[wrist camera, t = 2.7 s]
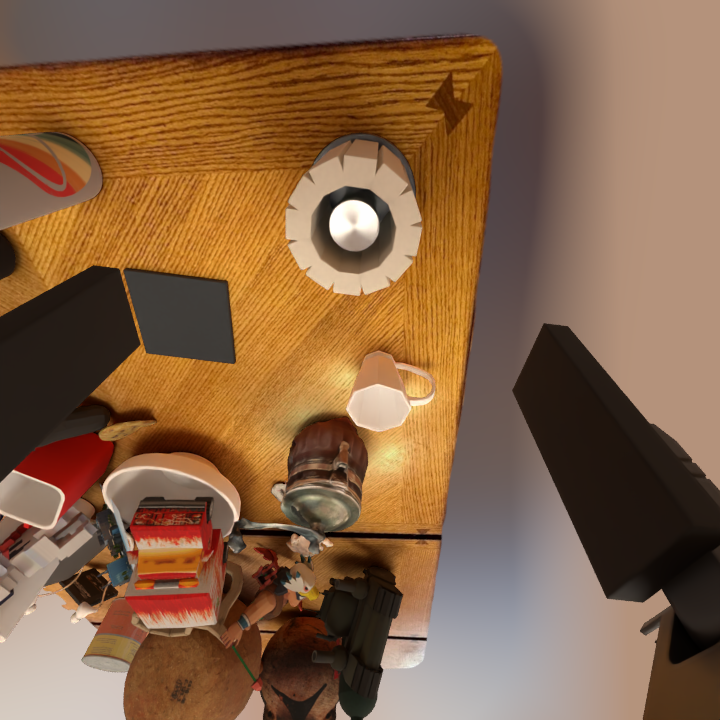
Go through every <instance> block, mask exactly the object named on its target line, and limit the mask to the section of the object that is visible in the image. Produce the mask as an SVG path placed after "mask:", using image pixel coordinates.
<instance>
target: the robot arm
mask: <svg viewBox="0 0 720 720" xmlns="http://www.w3.org/2000/svg"><path fill="white" fill-rule="evenodd" d="M140 345H141V344H140V341H139V337H138V334H137V330H136V327H135V323H134V320H133V316H132V313H131V309H130V305H129V302H128V298H127V295H126V291H125V288H124V284H123V281H122V277H121V274H120V270H119V269H118V268H110V267H102V266H94V265H93V266H92V267H90V268H88V269H86V270H84V271H83V272H81V273H79V274H77V275H75V276H73V277H72V278H70V279H68V280H66V281H64V282H63V283H61V284H59V285H57V286H55V287H53V288H52V289H50V290H48V291H46V292H44V293H43V294H41V295H39V296H37V297H35V298H34V299H32V300H30V301H28V302H26V303H24V304H23V305H21V306H19V307H17V308H15V309H14V310H12V311H10V312H8V313H6V314H4V315H3V316H1V317H0V483H1V482H2V481H3V480H4V479H5V478H6V477H7V476H8V475H9V474H10V473H11V472H12V471H13V470H14V469H15V468H16V467H17V466H18V465H19V464H20V463H21V462H22V461H23V460H24V459H25V458H26V457H27V456H28V455H29V454H30V453H31V452H32V451H33V450H34V449H35V448H36V447H37V446H38V445H39V444H40V443H41V442H42V441H43V440H44V439H45V438H46V437H47V436H48V435H49V434H50V433H51V432H52V431H53V430H54V429H55V428H56V427H57V426H58V425H59V424H60V423H62V422H63V421H64V420H65V419H66V418H67V417H68V416H69V415H70V414H71V413H72V412H73V411H74V410H75V409H76V408H77V407H78V406H79V405H80V404H81V403H82V402H83V401H84V400H85V399H86V398H87V397H88V396H89V395H90V394H91V393H92V392H93V391H94V390H95V389H96V388H97V387H98V386H99V385H100V384H101V383H102V382H103V381H104V380H105V379H106V378H107V377H108V376H109V375H110V374H111V373H112V372H113V371H114V370H115V369H116V368H117V367H118V366H119V365H120V364H121V363H122V362H123V361H124V360H125V359H126V358H127V357H128V356H130V355H131V354H132V353H133V352H134V351H135V350H136V349H137V348H138V347H139V346H140ZM512 391H513V393H514V395H515V398H516V400H517V402H518V404H519V407H520V409H521V411H522V413H523V415H524V418H525V420H526V422H527V424H528V426H529V428H530V431H531V433H532V435H533V437H534V439H535V441H536V444H537V446H538V448H539V450H540V453H541V455H542V457H543V459H544V461H545V464H546V466H547V468H548V470H549V472H550V475H551V477H552V479H553V481H554V483H555V486H556V487H557V490H558V492H559V494H560V497H561V499H562V501H563V503H564V505H565V507H566V510H567V512H568V514H569V516H570V518H571V521H572V523H573V525H574V527H575V529H576V532H577V534H578V536H579V538H580V541H581V543H582V545H583V547H584V549H585V551H586V554H587V555H588V558H589V560H590V563H591V565H592V567H593V569H594V571H595V573H596V575H597V578H598V580H599V582H600V584H601V587H602V589H603V591H604V593H605V595H606V598H607V599H616V600H625V601H634V602H644V601H646V600H647V599H649V598H650V597H651V596H653V595H654V594H655V593H657V592H658V591H659V590H660V589H662V590H663V592H664V594H665V596H666V597H667V599H668V601H669V602H670V604H671V606H669V607H668V608H666V609H665V610H663V611H662V612H661V613H659V614H658V615H656V616H655V617H653V618H652V619H650V620H649V621H647V622H646V623H644V625H643V626H642V628H641V630H640V632H642V633H643V634H644V635H647V634H649V633H650V632H652V631H654V630H655V629H657V628H659V633H658V638H657V640H656V641H655V643H656V649H655V655H654V660H653V666H652V671H651V677H650V682H649V688H648V693H647V699H646V704H645V710H644V715H643V720H720V491H719V490H718V488H717V487H716V486H715V485H714V484H713V483H712V482H711V480H710V479H706V477H705V476H706V475H705V474H704V472H703V471H702V470H701V469H700V468H699V467H698V466H697V464H696V463H692V459H691V457H690V456H689V455H688V454H687V453H686V452H685V451H684V449H683V448H682V447H681V446H680V445H679V444H678V443H677V441H675V440H674V439H673V438H672V437H670V436H669V435H668V434H666V433H665V432H664V431H662V430H661V429H660V428H658V427H657V426H656V425H654V424H650V423H649V422H648V421H647V420H646V419H645V417H644V416H643V415H642V414H641V413H640V412H639V410H638V409H637V408H636V407H635V406H634V404H633V403H632V402H631V401H630V400H629V398H628V397H627V396H626V395H625V394H624V393H623V391H622V390H621V389H620V388H619V387H618V385H617V384H616V383H615V382H614V381H613V379H612V378H611V377H610V376H609V375H608V374H607V372H606V371H605V370H604V369H603V368H602V366H601V365H600V364H599V363H598V362H597V360H596V359H595V358H594V357H593V356H592V354H591V353H590V352H589V351H588V350H587V349H586V347H585V346H584V345H583V344H582V343H581V341H580V340H579V339H578V338H577V337H576V335H575V334H574V333H573V332H572V331H571V329H570V328H569V327H568V326H561V325H552V324H545V323H544V324H543V326H542V328H541V331H540V333H539V335H538V337H537V339H536V341H535V343H534V345H533V348H532V350H531V352H530V354H529V356H528V358H527V360H526V362H525V365H524V367H523V369H522V371H521V373H520V375H519V377H518V379H517V382H516V384H515V386H514V388H513V390H512Z"/></svg>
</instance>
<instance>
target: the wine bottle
mask: <svg viewBox="0 0 720 720" xmlns="http://www.w3.org/2000/svg"><path fill="white" fill-rule="evenodd" d="M345 640H346V637H342V646H344V644H345ZM336 643H337V645H339V638H338V639H337V640H336ZM339 675H340V676H339ZM338 676H339V690H338V697H339V702H340V705H341V707H342V709H343V710H344V712H345V713H346V714H347V715H348V716H350V717H351V720H363V718H364V717H366V716H367V715H368V714H369V713H370V712H372V710H373V708H374V707H375V703H376V701H377V695H376V697H375V699H369V698H368V697H367V698H364V697H362V696H361V695H359V694H357V693H356V692H354V691H353V690H352V689H351V687H350V686H349V685H348V684H347V683H346V682H345V679H344V676H343V674H342V672H341V673H339V674H338V671H336V670H335V669H334V679H336V678H338Z"/></svg>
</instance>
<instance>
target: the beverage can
mask: <svg viewBox="0 0 720 720" xmlns="http://www.w3.org/2000/svg"><path fill="white" fill-rule="evenodd" d="M15 261H16V257H15V252H14V250H13V247H12V246H11V244H10V243H9V241H8V240H7V239H6V237H5V236H4V235H3V234H2V233H0V280H1V279H3V278H5V277H7V276H9V275H10V274H12V272H13V271H14V269H15V265H16V262H15Z"/></svg>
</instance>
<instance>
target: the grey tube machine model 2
mask: <svg viewBox="0 0 720 720" xmlns="http://www.w3.org/2000/svg"><path fill="white" fill-rule="evenodd" d="M73 506H74V507H75V508H76V509H77V510H78V511H79V513H80V512H82V513H84V514H85V515H86V516H87V517H88V518H89V519H91V517H92V516H93V515H94V513H95V509H94V507H93V506H92V505H91V504H90V503H89V502H87V501H86V500H84V499H81V498H79V499H78V500H77V501H76V502H75V503H74V504H73ZM79 513H78V514H79ZM76 515H77V514H76ZM76 515H75V516H76ZM75 516H74V517H75ZM74 517H73V518H74ZM71 519H72V518H71ZM71 519H70V520H69V521H68V523H70V522H71ZM22 523H23V522H21V521H18V520H15V519H12V518H10V517H7V516H6V517H5V518H4V519H3V520H2V521H1V522H0V544H1V543H2V542H4V540H5V539H7V538H8V537H9V536H10V534H11V533H12V532H14V531H15V530H16V529H17V527H18V526H20V525H21V524H22ZM23 524H24V523H23ZM66 525H67V524H66ZM66 525H65V526H66ZM65 526H64V527H65ZM61 529H62V528H61ZM61 529H60V530H61ZM58 565H59V559H58V558H57V557H56V558H55V559H54V560H53V561H52V562H50V563H49V564H48V565H47V566H46V567H45V568H40V569H39V570H38V571H37V572H36V573H34V574H33V575H32V576H31V577H30V578H29V577H28V576H26V575H25V574H24V575H25V576H24V577H23V578H22V579H21V580H19V581H18V582H17V583H18V585H16V586H15V587H14V595H13V596H11V597H10V598H9V599H8V600H7V601H6V602H4V603H3V604H2V605H1V606H0V643H2V642H4V641H6V639H7V638H8V636H9V635H10V633H11V632H12V631H13V629H14V628H15V626H16V625H17V623H18V622H19V620H20V619H21V618H22V616H23V615H24V613H25V612H26V611H27V609H28V608H29V606H30V605H31V603H32V602H33V600H34V599H35V598H36V596H37V595H38V593H39V592H40V590H41V589H42V588H43V586H44V585H45V583H46V582H47V580H48V579H49V578H50V576H51V575H52V573H53V572H54V570H55V569H56V568H57V566H58Z"/></svg>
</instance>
